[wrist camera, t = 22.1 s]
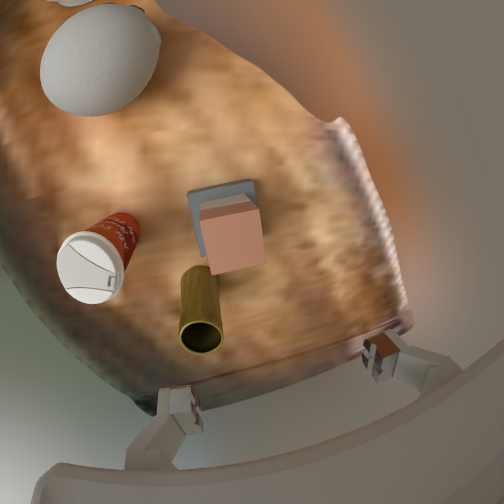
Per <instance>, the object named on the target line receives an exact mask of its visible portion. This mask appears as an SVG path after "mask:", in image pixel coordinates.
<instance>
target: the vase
mask: <svg viewBox="0 0 504 504" xmlns="http://www.w3.org/2000/svg"><path fill="white" fill-rule="evenodd" d="M178 336H179V341H180V344H181V345H182V347H183V348H184V349H185V350H187V351H188V352H190V353H193V354H196V355H207V354H211V353H213V352H215V351H216V350H218V349H219V348H220V347H221V345H222V343H223V340H224V336H223V328H222V319H221V311H220V302H219V279H218V277H217V275H212V274H211V270H210V269H209V268H207V267H203V266H196V267H192V268H190V269H189V270H187V271H186V272H185V273H184V274H183V276H182V279H181V311H180V322H179V333H178Z"/></svg>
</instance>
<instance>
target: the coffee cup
mask: <svg viewBox="0 0 504 504" xmlns="http://www.w3.org/2000/svg"><path fill="white" fill-rule="evenodd" d="M138 239H139V227H138V225H137V223H136V221H135V220H134V219H133V218H132V217H131V216H129V215H127V214H124V213H117V214H114V215H111V216H109V217H107V218H105V219H104V220H102V221H100V222H98V223H97V224H95V225H93V226H91V227H90V228H88V229H86V230H85V231H82V232H77V233H74V234H73V235H71V236H69V237H68V238H67V239H66V240H65V241H64V243H63V244H62V246H61V248H60V250H59V252H58V256H57V269H58V274H59V277H60V280H61V282H62V284H63V286H64V288H65V289H66V291H67V292H68V293H69V294H70V295H71V296H73V297H74V298H75V299H77V300H79V301H81V302H84V303H88V304H98V303H102V302H104V301H107V300H109V299H111V298H112V297H114V296H115V295H116V294H117V293H118V292H119V290H120V289H121V286H122V284H123V280H124V272H125V270H126V268H127V265H128V263H129V261H130V259H131V256H132V254H133V251H134V249H135V247H136V245H137V242H138Z"/></svg>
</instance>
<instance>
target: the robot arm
mask: <svg viewBox="0 0 504 504" xmlns="http://www.w3.org/2000/svg"><path fill="white" fill-rule="evenodd" d="M47 1H50V2H51V1H56V2H58V3H59V4H61V5H63V6H68V7H72V6H79V5H82V4H85V3H88V2H91V1H93V0H47ZM363 346H364V347H365V349H364V351H363V352H362V359H363V363H364V365H365V367H366V368H367V369H368V370H371V371H372V374H371V375H372V377H373V378H374V380H375V381H376V382H377V384H379V383H381V382H383V381H385V380H388V379H390V378H392V379H394V380H396V381H398V382H400V383H402V384H404V385H406V386H409V387H410V388H413V389H415V390H417V391H419V392H420V395H419V397H418V399H417V400H416V401H414V402H412V403H410V404H408V405H406V406H405V407H403V408H401V409H399V410H397V411H395V412H393V413H391V414H389V415H387V416H385V417H383V418H381V419H379V420H376V421H374V422H372V423H370V424H368V425H365V426H363V427H360V428H358V429H356V430H353V431H351V432H348V433H346V434H343V435H340V436H338V437H335V438H332V439H329V440H326V441H324V442H321V443H318V444H315V445H311V446H308V447H305V448H302V449H298V450H295V451H291V452H287V453H284V454H280V455H276V456H271V457H267V458H262V459H258V460H253V461H248V462H243V463H237V464H231V465H224V466H216V467H208V468H198V469H185V470H178V469H177V468H176V467H175V466H174V465H173V464H172V463H171V462H172V460H173V459H174V457H175V455H176V453H177V452H178V450H179V448H180V447H181V445H182V443H183V441H184V440H185V438H186V435H193V434H200V433H204V429H203V421H202V419H201V415H202V407H201V402H200V400H199V397H198V396H197V395H195V389H194V387H193V385H186V386H178V387H170V388H161V389H160V390H159V396H158V407H157V416H154V417H153V418H152V419H151V420H150V421H149V423H148V424H147V425H146V427H145V428H144V429H143V430H142V431H141V432H140V433H139V435H138V436H137V437H136V438H135V439H134V440H133V442H132V443H131V444H130V445H129V446H128V448H127V451H126V459H125V469H124V470H117V469H104V468H95V467H87V466H80V465H74V464H68V463H57V464H56V465H54V466H53V467H52V468H50V469H49V470H48V471H47V472H46V473H44V474H43V475H42V476H41V477H40V478H39V480H38V481H37V483H36V486H35V488H34V492H33V495H32V500H31V504H504V339H502V340H501V341H500V342H498V343H497V344H496V345H495V346H494V347H493V348H491V349H490V350H489V351H488V352H487V353H485V354H484V355H483V356H481V357H480V358H479V359H478V360H477V361H475V362H474V363H472V364H471V365H470V366H468V367H467V368H466V369H464V370H462V369H461V368H460V367H459V366H458V365H457V364H456V363H455V362H454V361H453V360H452V359H451V358H450V357H449V356H445V355H441V354H438V353H434V352H431V351H428V350H424V349H421V348H417V347H414V346H411V347H409V346H408V345H407V344H406V342H405V341H404V340H403V339H402V338H401V337H400V336H399V335H398V334H397V333H396V332H395V331H394V330H393V329H389V330H387V331H384V332H382V333H379V334H377V335H374V336H372V337H369V338H367V339H365V340H364V344H363Z"/></svg>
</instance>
